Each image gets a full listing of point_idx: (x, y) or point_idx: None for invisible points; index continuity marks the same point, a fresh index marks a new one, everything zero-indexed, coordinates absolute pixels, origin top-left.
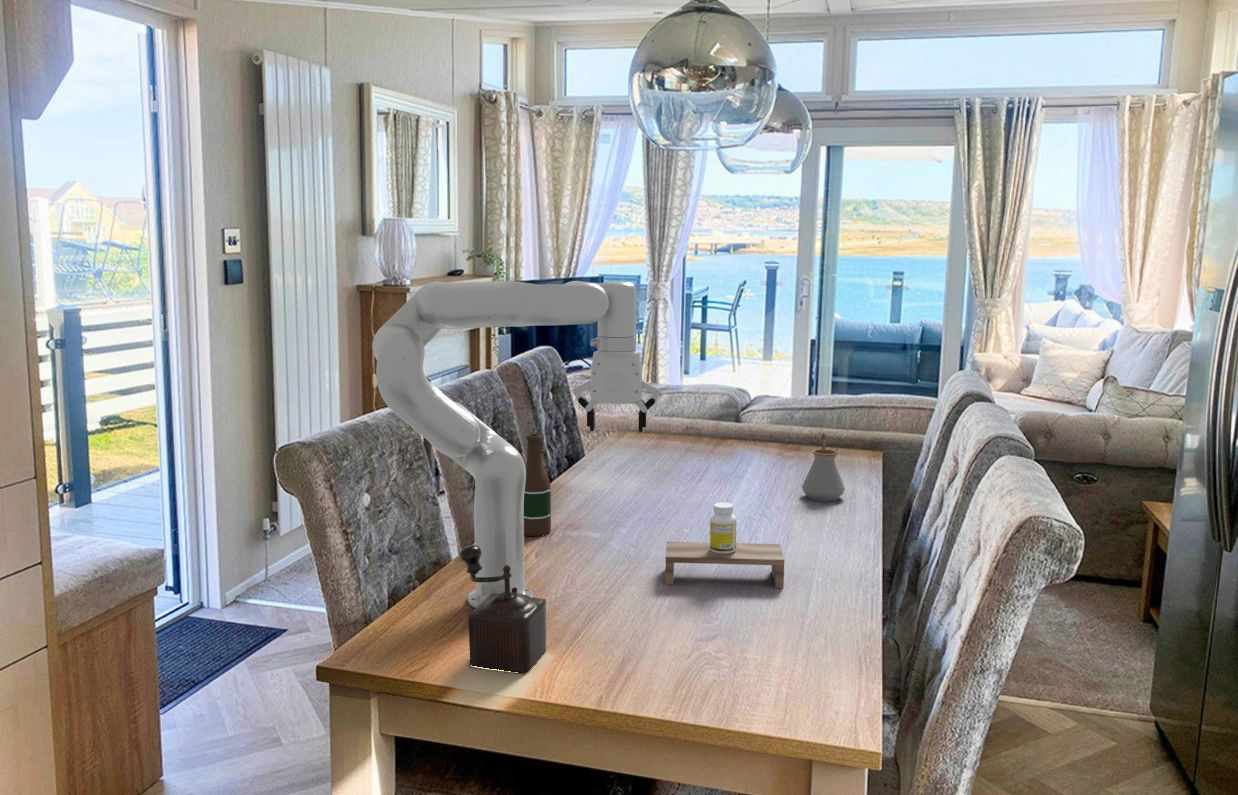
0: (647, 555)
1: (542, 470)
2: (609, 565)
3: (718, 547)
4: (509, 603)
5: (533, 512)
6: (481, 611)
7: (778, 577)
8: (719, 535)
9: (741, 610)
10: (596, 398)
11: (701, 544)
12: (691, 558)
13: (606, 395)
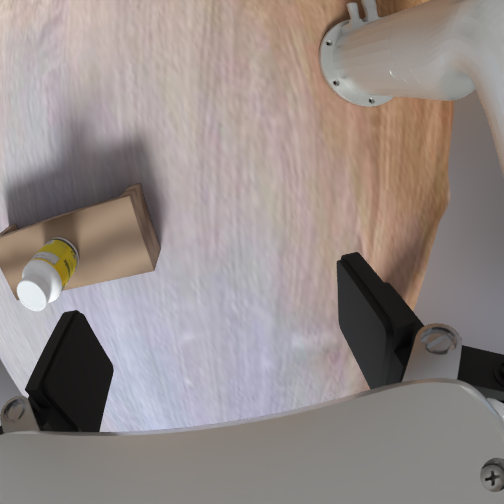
0: (204, 291)
1: None
2: (247, 237)
3: (56, 241)
4: None
5: None
6: None
7: (6, 230)
8: (46, 249)
9: (26, 131)
10: (434, 410)
11: (99, 272)
12: (90, 206)
13: (312, 493)
